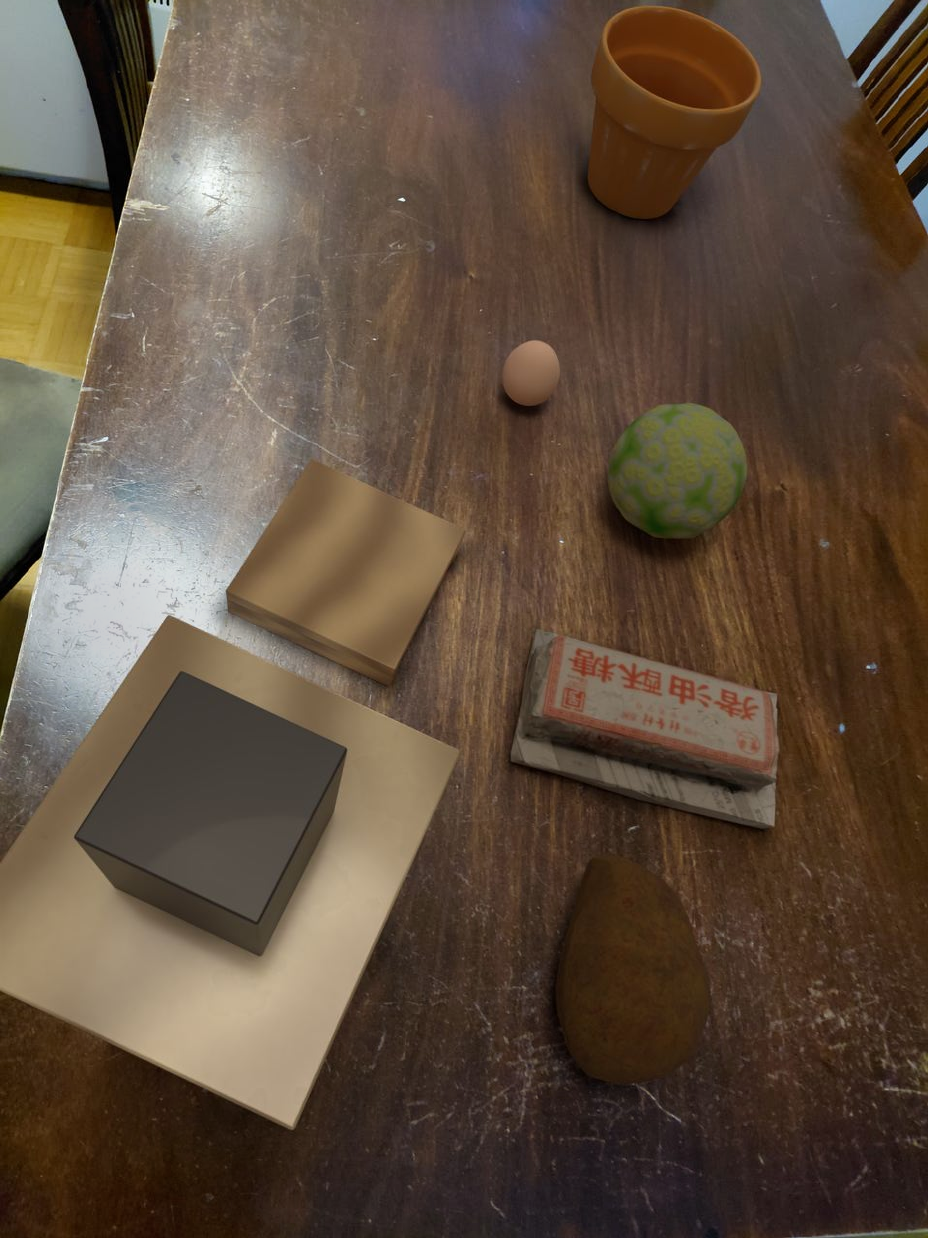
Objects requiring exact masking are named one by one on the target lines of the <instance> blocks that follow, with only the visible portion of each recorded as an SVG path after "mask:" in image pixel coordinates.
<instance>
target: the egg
mask: <svg viewBox="0 0 928 1238" xmlns="http://www.w3.org/2000/svg"><path fill="white" fill-rule="evenodd" d="M501 374H502V375H501V380H502V381H501V382H502V386H503V389H504V391H505V392H506V394H507V396H508V397H509V398H510V400H512V401H513V402H514V403H516V404H519V405H521V406H526V407H532V406H538V405H540V404H542V403H544V402H546V401H547V400H548V399H549V398H550V397H551V396H552V395H553V394H554V392H555V391H556V389H557V387H558V384H559V381H560V375H561V367H560V362H559V358H558V355H557V354H556V352H555V350H554V348H552V347H551V346H550V345H549V344H548V343H546V342H544V341H542V340H537V339H536V340H535V339H534V340H528V341H525V342H524V343H521V344H520V345H518V346H517V347H516V348H514V349H513V350H512V351H511V352H510V354H509V355H508V356H507V358H506V360H505V363H504V365H503V369H502V373H501Z"/></svg>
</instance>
